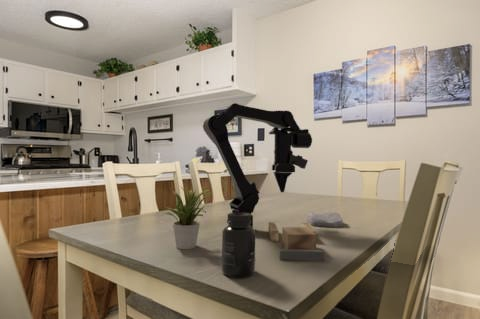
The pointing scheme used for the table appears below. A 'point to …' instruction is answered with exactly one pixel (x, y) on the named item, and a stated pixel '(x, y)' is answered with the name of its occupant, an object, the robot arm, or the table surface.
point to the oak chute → (275, 233)
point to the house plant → (187, 220)
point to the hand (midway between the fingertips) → (282, 192)
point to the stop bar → (301, 254)
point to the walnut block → (298, 238)
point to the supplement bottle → (238, 246)
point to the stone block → (326, 219)
